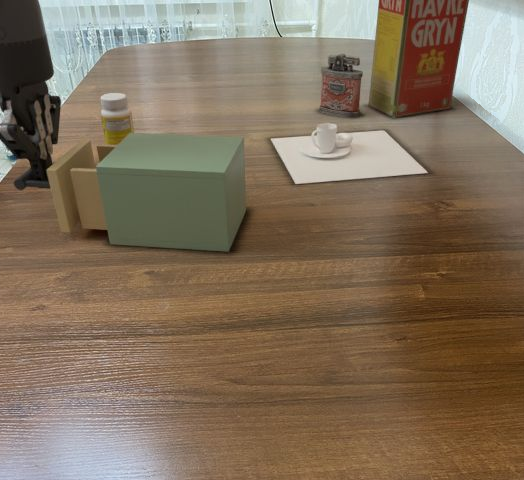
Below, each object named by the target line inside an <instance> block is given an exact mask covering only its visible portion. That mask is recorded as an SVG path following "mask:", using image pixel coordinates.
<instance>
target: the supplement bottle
mask: <svg viewBox="0 0 524 480" xmlns="http://www.w3.org/2000/svg"><path fill="white" fill-rule="evenodd" d="M100 106H101V107H102V109H101V111H100V117H101V122H102V128H103V129H102V130H103V133H104V141H105V144H111V145H118V144H119V143H120V142H121V141H122V140H123V139H124V138H125V137H126V136H127V135H128V134H129V133H135V128H134V122H133V115H132V110H131V108H130V107H129V103H128V96H127V94H125V93H122V92H121V93H120V92H109V93H105V94H102V95H101V96H100Z"/></svg>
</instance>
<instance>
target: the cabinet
mask: <svg viewBox="0 0 524 480" xmlns="http://www.w3.org/2000/svg"><path fill="white" fill-rule="evenodd" d="M245 163H246V161H245V137H244V136H227V135H226V136H225V135H224V136H222V135H199V134H198V135H197V134H174V133H173V134H171V133H170V134H169V133H143V132H134V133H129V134H128V135H127V136H126V137H125V138H124V139H123V140H122V141H121V142H120V143H119V144H118V145H117V146H116V147H115V148H114V149H113V150H112V151H111V152H110V153H109V154H108V155H107V156H106V157H105V158H104V159H103V160H102V161H101V162H100V163H99V162H98V164H97V165H95V168H96V171H97V176H98V182H99V187H100V193H101V198H102V203H103V209H104V214H105V219H106V225H107V230H106V231H107V234H108V235H107V236H108V240H109V244H110V245H114V246H115V245H116V246H131V247H133V246H134V247H146V248H147V247H149V248H164V249H179V250H195V251H210V252H211V251H212V252H225V253H229V252H230V249H231V247H232V245H233V243H234V240H235V238H236V237H237V234H238V231H239V229H240V226H241V224H242V221H243V219H244V217H245V214H246V212H247V194H246V189H247V188H246V165H245Z"/></svg>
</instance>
